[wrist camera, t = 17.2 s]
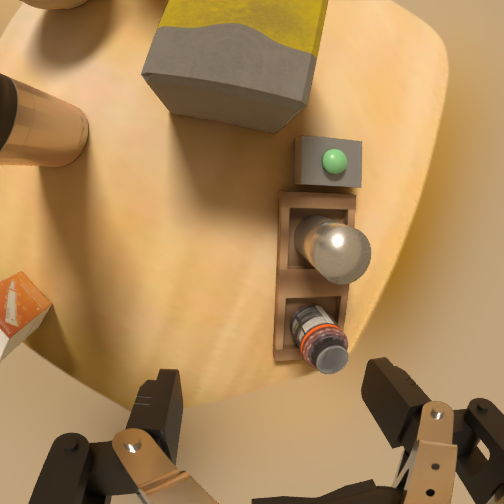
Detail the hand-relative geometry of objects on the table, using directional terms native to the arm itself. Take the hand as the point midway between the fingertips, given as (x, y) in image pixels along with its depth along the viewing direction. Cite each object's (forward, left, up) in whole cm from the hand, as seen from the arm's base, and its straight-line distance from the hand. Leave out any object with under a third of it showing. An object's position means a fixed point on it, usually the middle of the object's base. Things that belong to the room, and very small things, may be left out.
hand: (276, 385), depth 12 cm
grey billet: (+10, +1, -29) cm, 31 cm away
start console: (+11, +11, -30) cm, 34 cm away
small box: (-35, -9, -30) cm, 47 cm away
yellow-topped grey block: (0, +28, -30) cm, 41 cm away
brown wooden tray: (+10, -5, -30) cm, 32 cm away
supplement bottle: (+10, -11, -30) cm, 33 cm away
